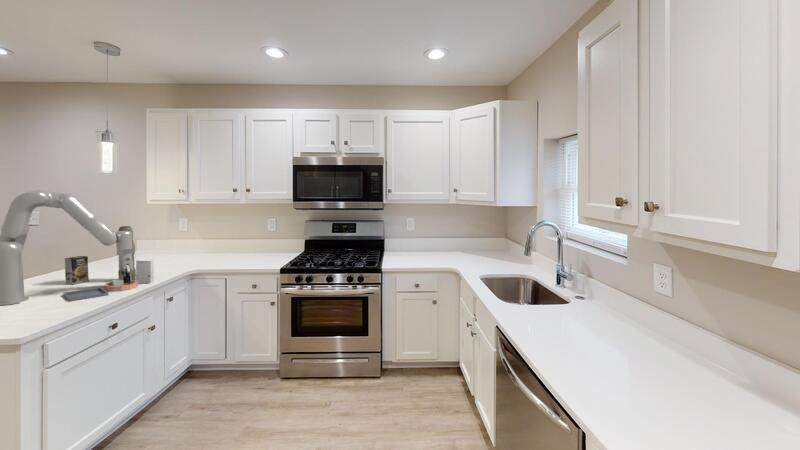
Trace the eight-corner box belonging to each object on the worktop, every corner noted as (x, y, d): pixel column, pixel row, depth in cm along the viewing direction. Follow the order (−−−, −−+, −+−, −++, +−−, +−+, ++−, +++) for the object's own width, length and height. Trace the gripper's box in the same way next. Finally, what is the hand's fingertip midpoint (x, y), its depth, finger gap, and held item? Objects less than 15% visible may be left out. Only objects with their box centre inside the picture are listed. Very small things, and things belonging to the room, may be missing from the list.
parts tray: (69, 302, 187) (69, 298, 186) (63, 296, 197) (63, 292, 196) (108, 296, 199) (108, 292, 199) (100, 290, 209) (100, 287, 209)
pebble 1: (114, 290, 208) (113, 281, 207) (111, 288, 210) (111, 280, 210) (123, 288, 211) (123, 280, 211) (121, 287, 214) (120, 279, 213)
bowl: (109, 293, 203) (109, 287, 203) (102, 288, 212) (102, 283, 212) (141, 288, 215) (140, 283, 215) (132, 284, 224) (132, 278, 224)
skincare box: (135, 284, 225) (134, 260, 223) (139, 281, 231) (138, 258, 229) (151, 283, 227) (150, 260, 226) (154, 281, 233) (154, 258, 232)
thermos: (126, 283, 226) (124, 227, 223) (114, 280, 230) (111, 226, 227) (140, 280, 234) (139, 226, 231) (128, 278, 238) (126, 225, 235)
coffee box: (73, 284, 219) (72, 258, 217) (65, 284, 220) (63, 257, 218) (89, 281, 227) (88, 256, 226) (81, 280, 229) (79, 255, 227)
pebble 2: (122, 283, 213) (122, 275, 213) (120, 281, 216) (119, 273, 215) (131, 282, 217) (131, 273, 216) (129, 280, 219) (128, 272, 219)
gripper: (136, 252, 212) (137, 283, 214) (127, 249, 223) (128, 278, 224) (121, 254, 206) (122, 285, 208) (112, 250, 217) (113, 280, 218)
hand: (125, 281), depth 216 cm, fingers closed on pebble 2, 4 cm apart
